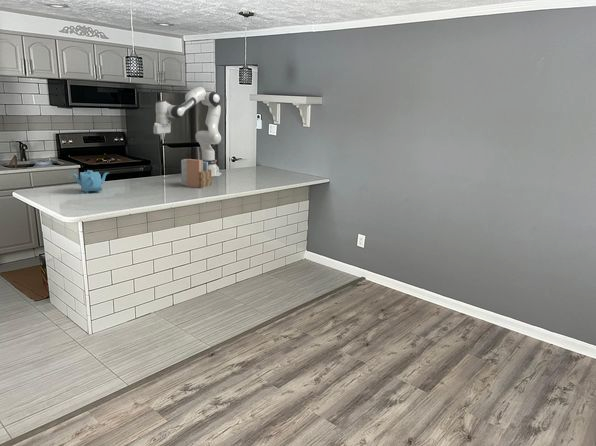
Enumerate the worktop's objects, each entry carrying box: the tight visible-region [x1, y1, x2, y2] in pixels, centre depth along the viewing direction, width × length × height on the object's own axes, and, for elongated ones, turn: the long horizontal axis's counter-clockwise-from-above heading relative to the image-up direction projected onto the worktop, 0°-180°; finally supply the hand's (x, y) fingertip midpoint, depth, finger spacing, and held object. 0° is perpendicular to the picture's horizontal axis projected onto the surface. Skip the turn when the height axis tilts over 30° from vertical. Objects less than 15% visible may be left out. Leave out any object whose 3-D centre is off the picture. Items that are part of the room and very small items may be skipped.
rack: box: [199, 169, 213, 189], centre depth 348 cm, size 18×2×12 cm, turn 166°
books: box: [186, 158, 208, 189], centre depth 348 cm, size 16×10×21 cm, turn 166°
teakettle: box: [70, 169, 109, 194], centre depth 310 cm, size 19×19×15 cm
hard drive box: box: [180, 158, 203, 187], centre depth 348 cm, size 16×8×20 cm, turn 75°
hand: (162, 139), depth 357 cm, fingers closed
